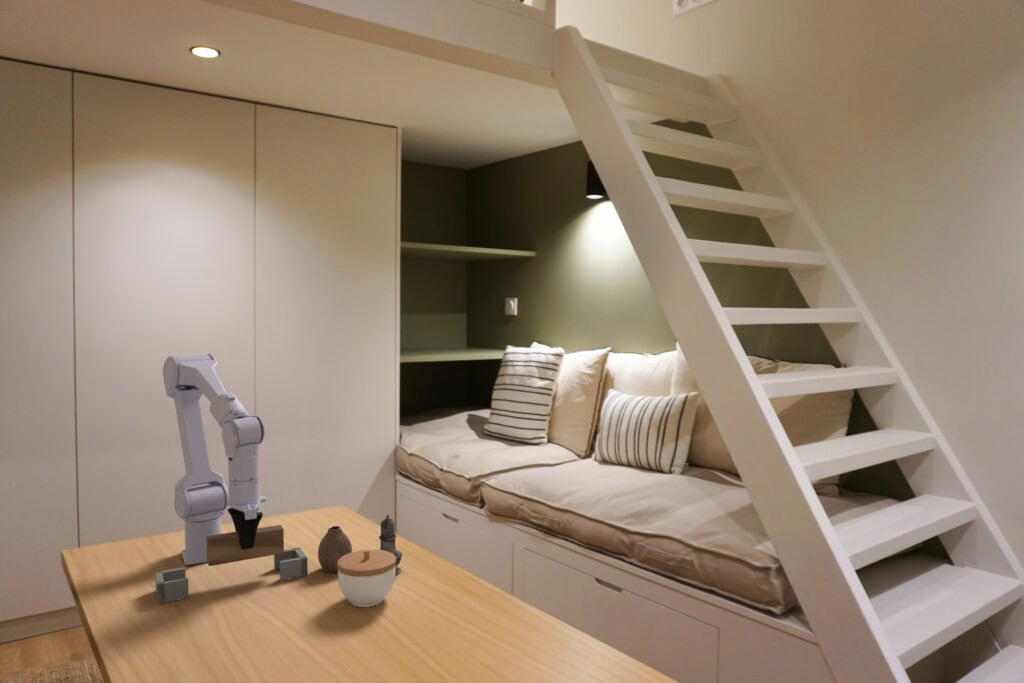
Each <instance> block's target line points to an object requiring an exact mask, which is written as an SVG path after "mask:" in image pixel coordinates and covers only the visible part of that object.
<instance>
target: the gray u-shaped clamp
mask: <svg viewBox="0 0 1024 683" xmlns="http://www.w3.org/2000/svg"><path fill="white" fill-rule="evenodd" d="M154 577H155V578H154V581H155V596H156V602H157V605H160V604H159V603H161V604H165V603H164V602H167V603H169V602H168V601H172V600H177V601H180V600H179V599H182V600H184V599H183V598H187V599H189V598H190V597H189V596H190V595H189V594H190V593H189V578H188V577H186V567H185V566H184V567H183V566H182V567H178V568H177V567H176V568H171V569H166V570H160V571H155V572H154ZM172 602H173V601H172Z"/></svg>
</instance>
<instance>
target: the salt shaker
mask: <svg viewBox="0 0 1024 683" xmlns="http://www.w3.org/2000/svg"><path fill="white" fill-rule="evenodd" d="M385 517H386V518H384V519H383V520H381V522H380V535H379V536H378V539H379V540H380V549H379V550H383V551H387V552H390V553H392V554H394V555H395V557H396V565H395V566H396V570H395V575H396V576H399V575H400V574H401V573H402V569H401V568H400V567H398V566H399V564H400V563H401V561H402V557H403V552H402V551H399V550H397V548H396V538H397V537H398V536H397V534H396V532H395V531H396V530H395V529H396V528H395V527H396V526H395V524H396V523H395V521H394V519H392V518H389V517H390V515H389V514H386V516H385ZM400 572H401V573H400ZM399 573H400V574H399Z"/></svg>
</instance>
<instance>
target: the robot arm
mask: <svg viewBox="0 0 1024 683" xmlns="http://www.w3.org/2000/svg"><path fill="white" fill-rule="evenodd" d="M162 377H163V383H164V389H165V390H164V391H165V393H166V396H167V397H168V398H171V399H173V402H174V407H175V412H176V414H175V415H176V419H177V425H178V430H179V438H180V444H181V450H182V455H183V462H184V463H183V464H184V467H185V469H184V470H185V474H184V475H183V477H182V478H180V479H179V480H178V481H177V482H176V484H175V485H174V488H173V490H174V491H173V492H174V501H173V504H174V510H175V514H176V515H177V516H178V518H180V519H181V520H183V521H184V544H185V545H184V549H181V555H182V558H183V563H184V566H191V565H192V566H193V565H195V564H196V565H197V564H203V563H208V562H207V537H206V536H211V535H217V534H222V523H221V522H222V519H221V516H224V515H225V511H226V510H227V512H228V513H229V515H230V517H231V520H232V523H233V525H234V529H235V531H234V532H237V531H238V536H239V541H240V546H241V548H242V550H243V549H249V548H253V546H254V541H255V536H256V531H257V528H259V527H258V526H259V524H260V522H261V521H262V519H263V516H264V514H263V512H261V511H258V509H259V506H260V504H261V503H265V502H267V497H266V496H264V495H263V496H262V495H261V488H260V446H259V445H261V444H262V443H263V442H264V439H265V425H264V423H263V421H262V419H261V417H260V416H259V415H258V414H257V415H256V414H253V413H248V411H247V409H245V407H244V406H243V403H241V401H240V400H239V398H238V397H237V396H236V395H235V394H233V393H230V392H229V393H228V392H227V390H226V388H225V387H224V385H223V383H222V381H221V379H220V378H219V363H218V360H217V358H216V357H215V356H214V355H213V354H212V353H207V354H203V355H202V354H200V355H199V354H198V355H182V356H180V355H179V356H174V355H169V356H168V357H167V358H165V361H164V363H163V367H162ZM202 396H205V397H206V399H207V401H209V403H210V405H209V412H210V413H211V415H212V417H213V418H214V420H215V421H216V422H217V424H218V426H219V427H220V428H221V430H222V431H221V433H220V434H221V439H222V442H223V447H224V454H225V457H227V459H228V460H227V464H228V465H227V467H228V468H227V469H228V470H227V471H228V472H227V473H228V487H227V485H226V483H225V478H224V476H223V475H222V474H220V473H219V472H217V471H214V470H213V469H211V468H212V467H211V463H210V461H211V460H210V457H209V456H210V455H209V449H208V445H207V438H206V433H205V426H204V420H203V415H202V414H203V413H202V408H201V405H200V404H201V403H200V399H201V397H202ZM196 486H197V487H196ZM190 487H191V488H190ZM228 507H229V508H228Z"/></svg>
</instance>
